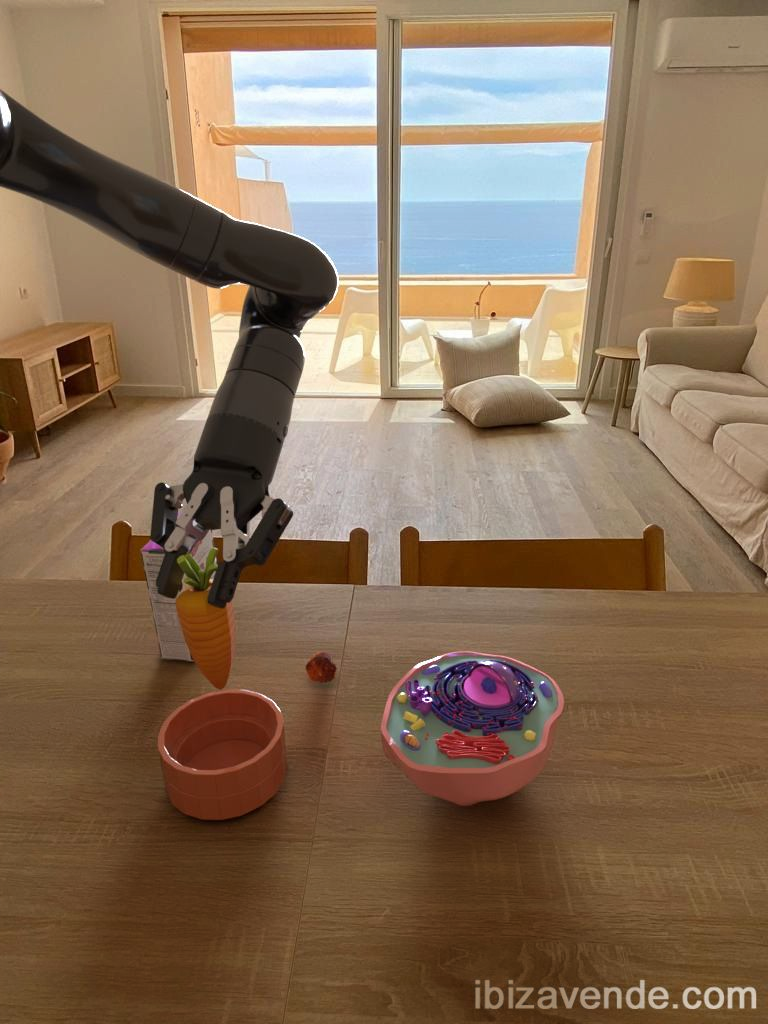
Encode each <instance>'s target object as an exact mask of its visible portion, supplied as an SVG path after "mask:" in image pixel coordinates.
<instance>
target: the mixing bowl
mask: <svg viewBox="0 0 768 1024" xmlns="http://www.w3.org/2000/svg"><path fill="white" fill-rule="evenodd" d="M286 744H287V743H286V735H285V723H284V718H283V713H282V710H280V708H279V707H278V706H277V704H276V703H275V701H273V700H272V699H270V698H269V697H267V696H265V695H263V694H261V693H259V692H255V691H252V690H251V691H250V690H247V689H221V690H217V691H211V692H207V693H205V694H201V695H199V696H197V697H194V698H192V699H190V700H188V701H187V702H184V703H183V704H182V705H180V706H178V707H177V708H175V709H174V711H173V712H171V714H170V715H169V716H168V717H167V718H165V720H164V722H163V723H162V726H161V728H160V729H159V731H158V734H157V751H158V756H159V762H160V767H161V772H162V773H161V774H162V779H163V783H164V789H165V793H166V795H167V797H168V799H169V801H170V804H171V805H172V806H174V808H175V809H177V810H178V811H180V812H181V813H182V814H184V815H187V816H188V817H189V816H190V817H193V818H196V819H199V820H204V821H205V820H208V821H210V820H211V821H224V820H228V819H233V818H237V817H241V816H244V815H246V814H248V813H251V812H252V811H255V810H256V809H258V808H261V806H263V805H264V804H266V802H268V801H269V800H270V799H271V798H272V797H273V796H275V795H276V794H277V792H278V790H279V789H280V787H281V786H282V785H283V783H284V781H285V780H286V775H287V770H288V756H287V746H286Z"/></svg>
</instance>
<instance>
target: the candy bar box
mask: <svg viewBox="0 0 768 1024" xmlns="http://www.w3.org/2000/svg"><path fill="white" fill-rule="evenodd" d="M181 513H182V512H178V517H179V516H180V514H181ZM195 525H197V523H196V522H195V521H193V526H195ZM214 541H215V540H214V533H213V530H209V531H208V533H207V535H206V536H205V538H204V539H203V540H201V541H198V543H197V544H196V546H195V547H194V549H193V550H192V552H191V553H190V555H191V556H192V557H193V558H194V559H195V561H196V562H197V563H198V565H199V567H200V569H201V570H204V574H205V567H206V561H207V557H208V554H209V551H210V550H211V548H216V547H215V542H214ZM139 552H140V555H141V561H142V565H143V571H144V576H145V577H144V578H145V581H146V587H147V591H148V597H149V600H150V607H151V610H152V611H151V612H152V618H153V622H154V628H155V632H156V638H157V643H158V648H159V655H160V659H161V660H165V661H166V660H167V661H180V662H181V661H182V662H190V663H191V662H192V663H195V662H194V660H193V658H192V656H191V653H190V651H189V649H188V647H187V644H186V642H185V639H184V635H183V632H182V628H181V625H180V621H179V617H178V613H177V609H176V598H177V597H178V595H179V593H180V592H181V590H182V589H183V587H184V586H186V585H188V584H186V583H184V579H185V578H188V577H187V576H186V574H185V573H184V576H183V579H182V582H181V585H180V588H179V591H178V594H177V596H176V598H174V599H172V598H167V597H164V596H162V595H160V594H158V591H157V589H158V587H156V579H157V576H158V573H159V571H160V567H161V564H162V561H163V558H164V555H165V551H164V549H163V548H162V547H161V546H159V545H158V544H156V543H155V542H153V541H152V540H151V539H150V540H149V541H148V542H147V543H146V544H145V545H144V546H143V547H142V548H141V549H140V550H139ZM214 564H216V565H218V561H217V557H216V558H215V561H214ZM215 573H216V571H215V572H214V573H213V574H212V576H211V578H210V579H214V576H215ZM195 574H196V573H195ZM196 576H197V575H196ZM197 578H198V577H197ZM198 580H199V578H198Z"/></svg>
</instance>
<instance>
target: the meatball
mask: <svg viewBox="0 0 768 1024" xmlns="http://www.w3.org/2000/svg"><path fill="white" fill-rule="evenodd" d="M337 670H338V668H337V666H336V663H335V662H334V661H333V660H332V657H331V656H330V654H329V653H327V652H326V651H319V652H316V653H315V654H313V656H311V658H310V660H309V661H307V663H306V665H305V671H306V674H307V676H308V678H309V679H310V681H311V682H313V683H317V682H319V683H331V682H332V681H333V680H334V679H335V675H336V673H337Z"/></svg>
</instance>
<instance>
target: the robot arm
mask: <svg viewBox="0 0 768 1024" xmlns="http://www.w3.org/2000/svg"><path fill="white" fill-rule="evenodd" d="M0 188H3V189H5V190H9V191H12V192H15V193H18V194H21V195H23V196H26V197H29V198H31V199H34V200H36V201H39V202H41V203H43V204H46V205H48V206H50V207H52V208H54V209H57V210H59V211H61V212H62V213H64V214H67V215H69V216H71V217H73V218H76V219H77V220H79V221H81V222H83V223H85V224H86V225H88V226H90V227H92V228H93V229H94V230H97V231H98V232H100V233H102V234H103V235H105V236H107V237H109V238H111V239H112V240H114V241H115V242H118V243H119V244H121V245H123V246H124V247H126V248H128V249H130V250H132V251H133V252H134V253H135V252H136V253H138V254H139V255H141V256H143V257H145V258H146V259H148V260H150V261H153V262H154V263H157V264H159V265H160V266H163V267H165V268H166V269H169V270H171V271H173V272H175V273H177V274H179V275H181V276H183V277H185V278H188V279H190V280H193V281H194V282H196V283H198V284H200V285H202V286H205V287H208V288H211V289H217V290H220V289H223V288H227V287H229V286H231V285H236V284H244V285H247V286H249V287H248V289H247V291H246V293H245V297H244V300H243V303H242V309H241V314H240V322H239V327H238V328H239V329H238V339H237V342H236V344H235V346H234V348H233V351H232V353H231V357H230V359H229V362H228V365H227V368H226V371H225V373H224V377H223V380H222V382H221V383H220V385H219V387H218V388H217V391H216V393H215V395H214V397H213V401H212V404H211V406H210V409H209V412H208V416H207V418H206V421H205V422H204V423H205V424H204V426H203V429H202V432H201V435H200V438H199V441H198V442H197V447H196V449H195V452H194V455H193V468H192V471H191V473H190V474H189V476H188V477H187V478H186V479H185V480H184V481H183V484H176V485H168V484H166V483H164V482H162V481H161V482H158V483H157V484H156V485H155V487H154V492H153V503H152V504H153V505H152V513H151V522H150V523H151V524H150V535H149V538H150V540H152V541H153V542H155V543H156V544H158V545H159V546H161V547H162V548H163V549H164V551H165V555H164V558H163V561H162V564H161V567H160V571H159V573H158V576H157V579H156V587H158V589H157V591H158V594H160V595H162V596H164V597H167V598H172V599H174V598H176V596H177V594H178V591H179V588H180V585H181V582H182V579H183V576H184V572H183V570H182V569H181V567H180V566H179V564H178V562H177V559H178V558H179V557H180V556H182V555H184V556H185V555H187V554H190V553H191V552H192V550H193V549H194V547H195V546H196V544H197V543H198V541H201V540H203V539H204V538H205V536H206V535H207V533H208V531H209V530H212V531H215V530H220V535H221V536H222V537H221V538H222V558H223V561H218V562H217V565H218V566H217V569H216V573H215V576H214V579H213V582H212V585H211V588H210V592H209V595H208V598H207V602H208V603H209V604H210V605H212V606H214V607H217V608H222V609H223V608H224V607H225V606H226V603H230V602H231V600H232V601H233V599H234V596H235V592H236V590H237V587H238V584H239V580H240V577H241V573H242V571H243V570H244V569H245V568H246V567H250V566H254V565H256V566H257V567H261V566H263V565H265V564H266V563H267V561H268V560H269V558H270V556H271V554H272V553H273V550H274V549H275V548H276V546H277V544H278V542H279V540H280V539H281V537H282V535H283V534H284V532H285V530H286V529H287V527H288V525H289V523H290V522H291V521H292V518H293V516H294V511H293V509H292V508H291V507H290V506H289V504H287V503H286V502H285V501H284V500H283V499H281V498H280V497H279V498H273V497H271V496H270V492H269V487H270V485H271V484H272V482H273V479H274V476H275V472H276V470H277V466H278V463H279V459H280V457H281V454H282V449H283V446H284V443H285V440H286V438H287V435H288V432H289V428H290V427H289V426H290V423H291V419H292V413H293V405H294V401H295V397H296V394H297V391H298V388H299V384H300V381H301V378H302V375H303V373H304V367H305V362H306V361H305V360H306V352H305V348H304V346H303V344H302V341H301V340H300V338H301V335H302V332H303V330H304V327H305V326H306V324H307V323H308V322H309V321H310V320H312V319H313V318H314V317H315V316H316V315H317V314H319V313H320V312H321V311H323V310H324V309H325V308H326V307H327V306H328V305H329V304H330V303H331V302H332V301H333V300H334V298H335V296H336V294H337V292H338V287H339V276H338V272H337V269H336V267H335V265H334V263H333V261H332V260H331V258H330V257H329V256H328V254H326V252H325V251H323V250H322V249H321V248H320V247H319V246H317V245H316V244H315V243H313V242H311V241H310V240H308V239H306V238H304V237H301V236H299V235H296V234H293V233H290V232H286V231H283V230H280V229H276V228H271V227H268V226H265V225H262V224H258V223H255V222H249V221H244V220H239V219H236V218H234V217H232V216H231V215H229V214H227V213H225V212H224V211H222V210H221V209H218V208H216V207H214V205H213V206H212V205H211V204H209V203H207V202H205V201H204V200H202V199H200V198H198V197H196V196H194V195H192V194H191V193H189V192H186V191H184V190H183V189H181V188H179V187H177V186H174V185H172V184H170V183H168V182H166V181H165V180H162V179H160V178H157V177H155V176H153V175H151V174H149V173H146V172H144V171H142V170H139V169H138V168H135V167H132V166H130V165H128V164H127V163H124V162H121V161H119V160H117V159H114V158H112V157H110V156H108V155H106V154H104V153H102V152H100V151H98V150H95V149H94V148H92V147H90V146H88V145H86V144H85V143H82V142H80V141H78V140H77V139H76V138H73V137H71V136H70V135H68V134H67V133H65V132H63V131H61V130H60V129H58V128H56V127H55V126H53V125H52V124H50V123H48V122H47V121H45V119H43V118H42V117H40V116H38V115H37V114H35V112H33V111H32V110H30V109H28V108H27V107H26V106H24V105H23V104H21V103H20V102H19V101H18V100H16V99H14V97H12V96H11V95H9V94H8V93H6V92H5V91H4V90H3V89H1V88H0ZM184 500H185V502H186V505H185V507H184V508H183V502H184ZM182 508H183V509H182ZM180 509H182V511H181V512H180V513H181V514H180V516H179V517H178V513H179V510H180ZM260 512H261V519H260V521H259V523H258V524H257V526H256V528H255V530H254V531H253V533H252V534H251V533H250V531H251V529H250V528H251V527H250V524H251V523H250V522H251V521H252V520H253V519H254V518H256V517H257V516H258V514H260ZM193 521H195V522H196V523H197V525H195V526H193ZM250 534H251V535H250Z"/></svg>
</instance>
